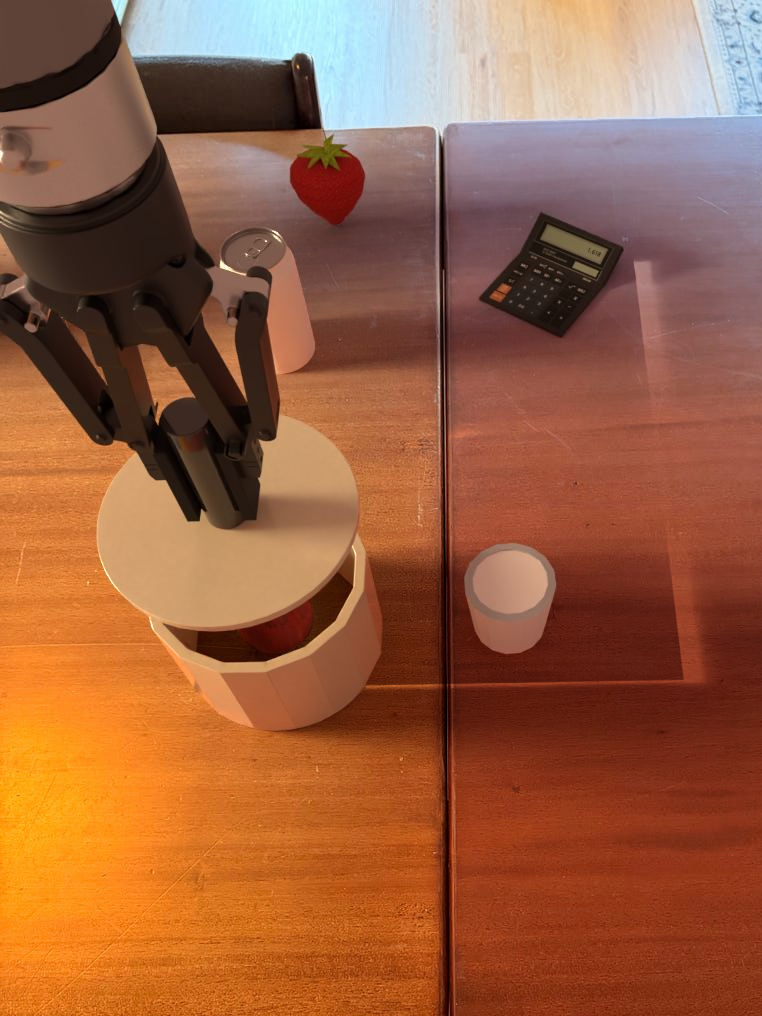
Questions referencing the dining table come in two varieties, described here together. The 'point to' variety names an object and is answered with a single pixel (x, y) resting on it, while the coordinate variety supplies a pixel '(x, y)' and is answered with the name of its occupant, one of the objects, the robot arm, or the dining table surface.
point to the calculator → (554, 275)
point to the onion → (281, 631)
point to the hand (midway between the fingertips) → (224, 502)
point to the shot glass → (509, 596)
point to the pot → (292, 663)
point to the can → (275, 292)
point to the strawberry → (328, 180)
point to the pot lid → (229, 528)
